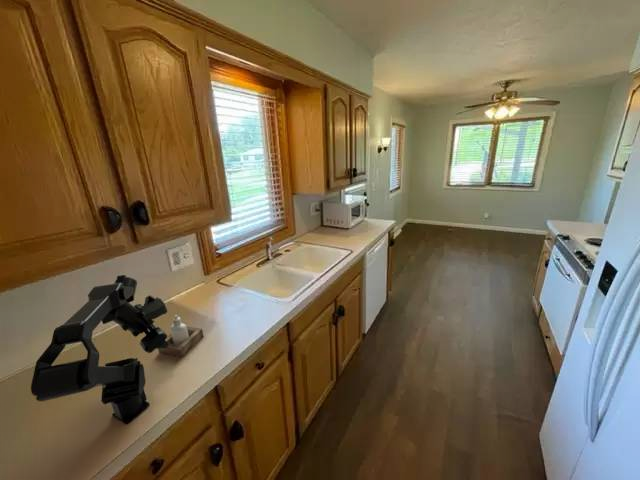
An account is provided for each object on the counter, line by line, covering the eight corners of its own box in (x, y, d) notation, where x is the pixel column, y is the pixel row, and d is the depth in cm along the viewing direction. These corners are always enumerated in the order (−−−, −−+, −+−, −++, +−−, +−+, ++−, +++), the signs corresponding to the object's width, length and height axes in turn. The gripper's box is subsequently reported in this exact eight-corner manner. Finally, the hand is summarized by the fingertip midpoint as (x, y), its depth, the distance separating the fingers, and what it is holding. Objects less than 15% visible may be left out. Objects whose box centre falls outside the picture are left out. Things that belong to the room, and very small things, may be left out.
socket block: (182, 357, 94) (180, 349, 93) (159, 353, 97) (157, 345, 95) (203, 336, 105) (202, 328, 104) (182, 333, 107) (180, 325, 106)
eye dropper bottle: (179, 350, 97) (173, 321, 93) (172, 344, 101) (165, 315, 97) (191, 343, 100) (185, 315, 97) (184, 337, 104) (178, 310, 100)
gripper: (165, 309, 76) (195, 333, 87) (139, 281, 87) (170, 305, 98) (128, 342, 71) (165, 363, 82) (106, 307, 82) (142, 330, 93)
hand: (161, 338), depth 89 cm, fingers open, 9 cm apart
